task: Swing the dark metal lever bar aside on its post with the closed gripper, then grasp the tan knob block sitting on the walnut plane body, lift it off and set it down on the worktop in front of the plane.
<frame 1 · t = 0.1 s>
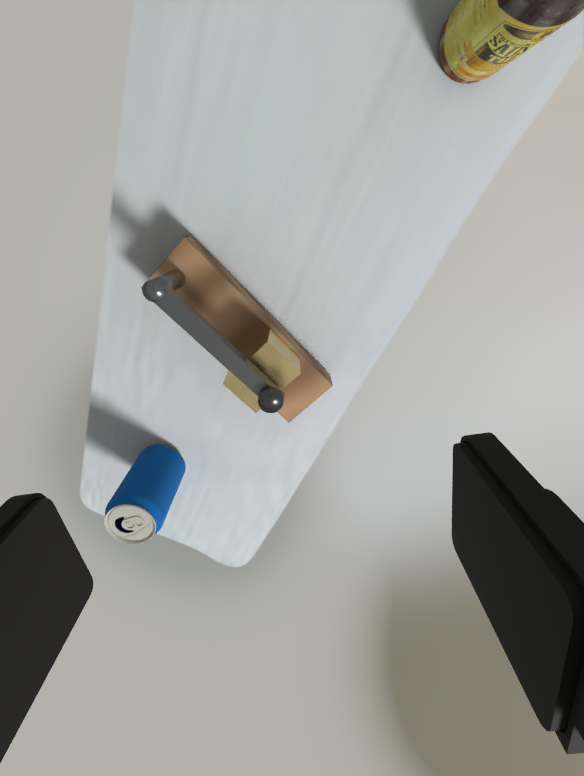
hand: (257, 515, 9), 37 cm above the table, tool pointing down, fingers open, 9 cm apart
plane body: (246, 329, 45), on the table
sauce bottle: (471, 45, 35), on the table
lever: (223, 338, 37), point 8 cm above the table, hinge at 0.0°
tan knob block: (264, 361, 43), point 4 cm above the table, touching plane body
beverage can: (163, 460, 53), on the table
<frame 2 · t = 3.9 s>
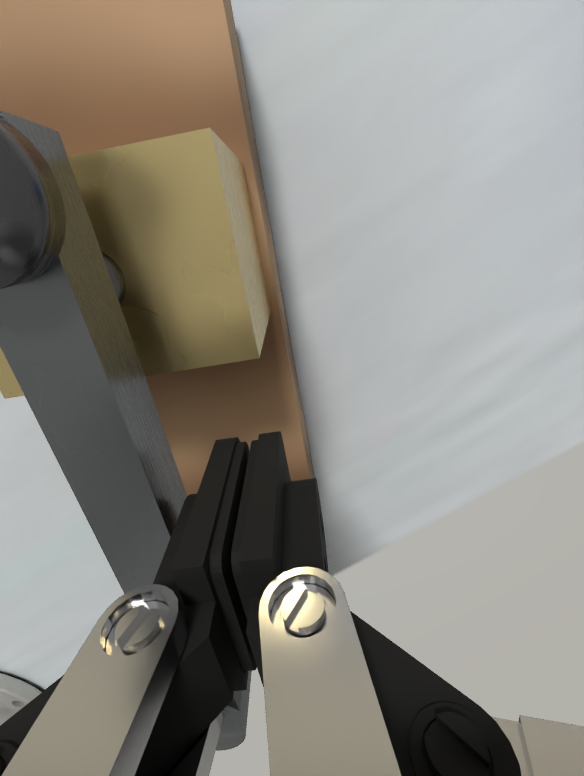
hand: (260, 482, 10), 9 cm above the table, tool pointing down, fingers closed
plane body: (213, 327, 18), on the table
lever: (175, 462, 11), point 8 cm above the table, hinge at 0.1°, touching gripper
tan knob block: (164, 259, 13), point 4 cm above the table, touching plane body
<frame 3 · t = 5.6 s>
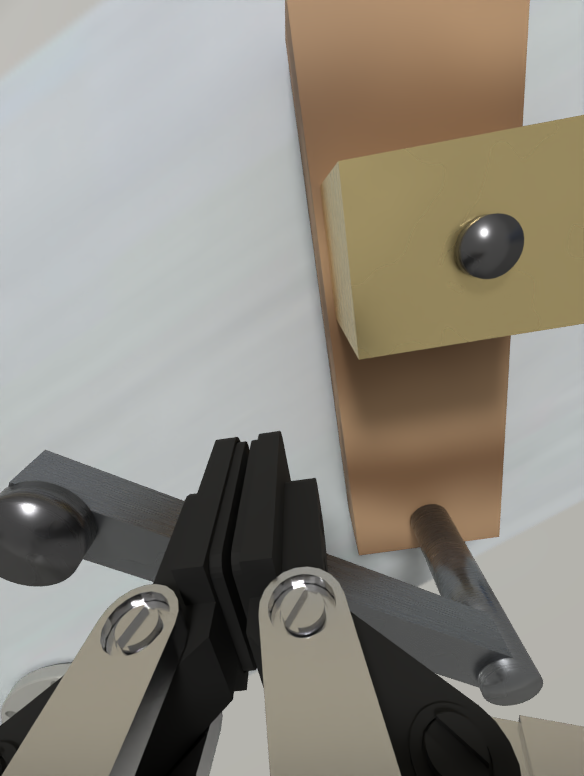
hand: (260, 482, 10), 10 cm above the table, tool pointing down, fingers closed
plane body: (394, 314, 19), on the table
lever: (296, 526, 13), point 8 cm above the table, hinge at 54.4°, touching gripper
tan knob block: (417, 240, 14), point 4 cm above the table, touching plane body
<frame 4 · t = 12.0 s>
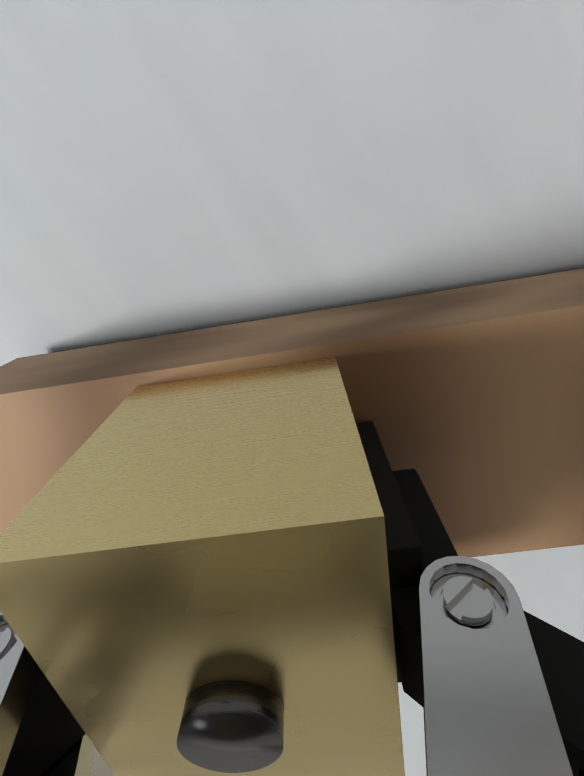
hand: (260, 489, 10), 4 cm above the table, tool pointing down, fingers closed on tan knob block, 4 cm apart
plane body: (367, 398, 13), on the table
tan knob block: (261, 484, 10), point 4 cm above the table, touching gripper, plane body
when the fingers open (1 cm above the table, at t = 17.2 s): tan knob block drops 1 cm, on the table.
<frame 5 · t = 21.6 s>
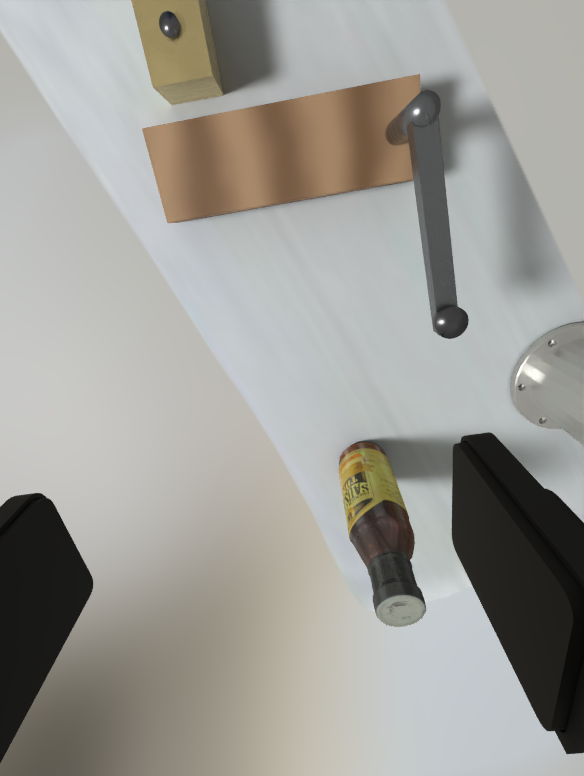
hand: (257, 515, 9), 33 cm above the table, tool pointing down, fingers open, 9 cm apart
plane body: (285, 160, 35), on the table
sauce bottle: (361, 460, 48), on the table
lever: (424, 227, 30), point 8 cm above the table, hinge at 96.5°
tan knob block: (188, 54, 32), on the table
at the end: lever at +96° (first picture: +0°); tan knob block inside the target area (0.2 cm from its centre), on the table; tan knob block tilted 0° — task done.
